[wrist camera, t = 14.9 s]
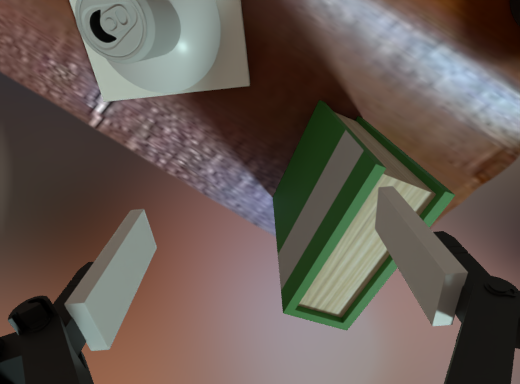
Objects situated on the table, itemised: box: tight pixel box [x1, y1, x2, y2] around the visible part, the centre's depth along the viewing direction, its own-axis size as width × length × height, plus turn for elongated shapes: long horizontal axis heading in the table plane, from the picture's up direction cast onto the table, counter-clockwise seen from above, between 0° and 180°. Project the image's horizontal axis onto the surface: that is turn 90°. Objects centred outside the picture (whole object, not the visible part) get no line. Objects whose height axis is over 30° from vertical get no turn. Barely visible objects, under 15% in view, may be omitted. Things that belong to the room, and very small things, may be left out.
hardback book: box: [273, 100, 455, 330], centre depth 38 cm, size 18×7×24 cm, turn 158°
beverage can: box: [75, 0, 181, 64], centre depth 30 cm, size 6×6×12 cm
